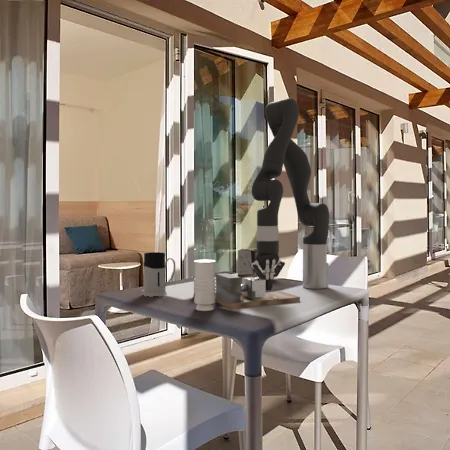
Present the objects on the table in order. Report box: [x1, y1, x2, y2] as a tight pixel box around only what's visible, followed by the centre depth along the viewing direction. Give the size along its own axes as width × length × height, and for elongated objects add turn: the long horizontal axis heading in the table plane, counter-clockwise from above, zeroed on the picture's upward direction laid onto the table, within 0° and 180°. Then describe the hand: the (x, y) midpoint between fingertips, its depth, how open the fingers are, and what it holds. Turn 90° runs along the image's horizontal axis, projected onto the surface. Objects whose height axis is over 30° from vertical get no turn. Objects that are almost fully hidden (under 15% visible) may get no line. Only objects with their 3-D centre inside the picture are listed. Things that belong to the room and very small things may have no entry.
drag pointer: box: [248, 279, 255, 299], centre depth 146 cm, size 1×3×6 cm, turn 26°
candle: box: [193, 259, 216, 312], centre depth 141 cm, size 7×7×15 cm
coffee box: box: [237, 248, 257, 295], centre depth 168 cm, size 9×6×16 cm
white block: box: [241, 277, 267, 298], centre depth 150 cm, size 8×7×6 cm
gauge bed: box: [215, 272, 301, 310], centre depth 152 cm, size 26×12×10 cm, turn 116°
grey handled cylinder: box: [142, 251, 176, 298], centre depth 163 cm, size 9×14×15 cm, turn 55°
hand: (267, 290), depth 153 cm, fingers closed
